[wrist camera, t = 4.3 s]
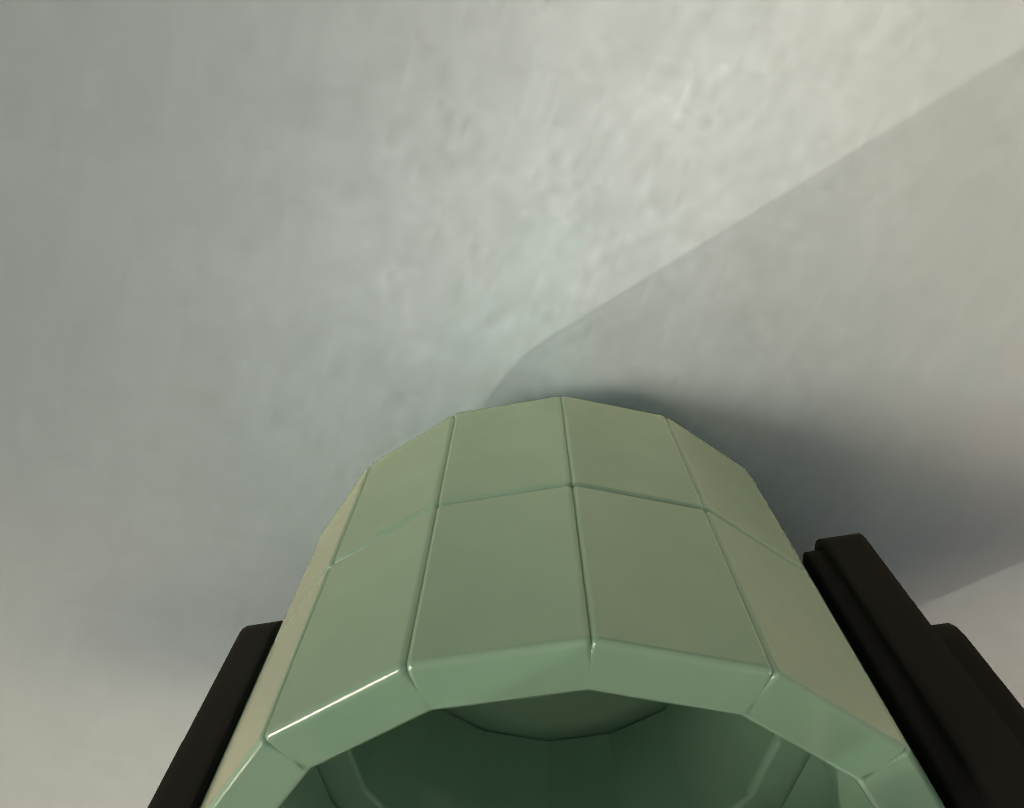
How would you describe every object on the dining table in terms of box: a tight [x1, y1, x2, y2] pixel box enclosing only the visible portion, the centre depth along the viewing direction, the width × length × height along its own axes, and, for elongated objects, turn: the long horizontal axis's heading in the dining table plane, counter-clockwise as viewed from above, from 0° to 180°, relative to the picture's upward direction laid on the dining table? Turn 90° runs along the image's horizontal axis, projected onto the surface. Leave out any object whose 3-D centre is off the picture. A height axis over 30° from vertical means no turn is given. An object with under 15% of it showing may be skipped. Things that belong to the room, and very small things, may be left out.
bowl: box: [201, 396, 946, 808], centre depth 9 cm, size 7×7×5 cm
